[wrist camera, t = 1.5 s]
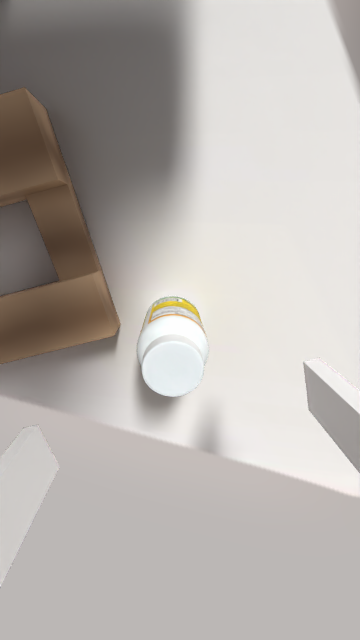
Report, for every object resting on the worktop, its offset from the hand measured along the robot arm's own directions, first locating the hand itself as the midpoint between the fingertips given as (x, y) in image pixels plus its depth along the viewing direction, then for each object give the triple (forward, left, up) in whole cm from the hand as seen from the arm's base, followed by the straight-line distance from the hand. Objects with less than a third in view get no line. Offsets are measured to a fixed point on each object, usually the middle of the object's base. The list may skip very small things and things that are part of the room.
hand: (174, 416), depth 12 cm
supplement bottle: (0, 0, -14) cm, 14 cm away
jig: (-10, -12, -14) cm, 21 cm away
